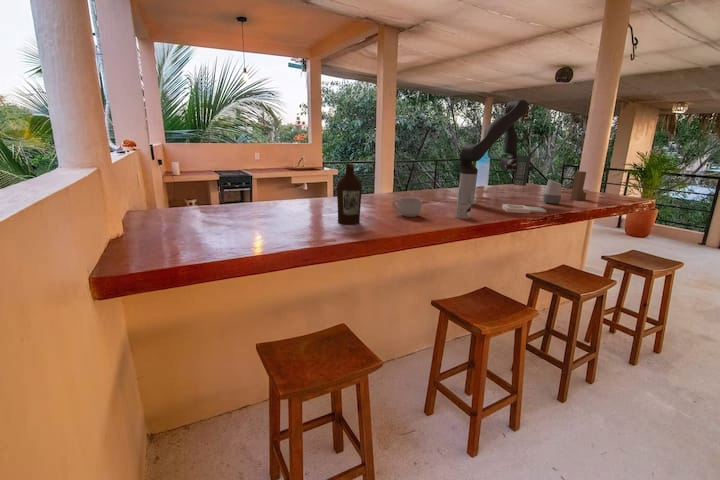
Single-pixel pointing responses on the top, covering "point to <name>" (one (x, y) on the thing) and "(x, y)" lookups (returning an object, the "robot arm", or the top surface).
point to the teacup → (408, 206)
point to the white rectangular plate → (536, 209)
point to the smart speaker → (552, 192)
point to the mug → (463, 210)
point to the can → (521, 170)
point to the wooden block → (578, 186)
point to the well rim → (516, 208)
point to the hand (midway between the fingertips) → (522, 168)
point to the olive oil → (349, 197)
